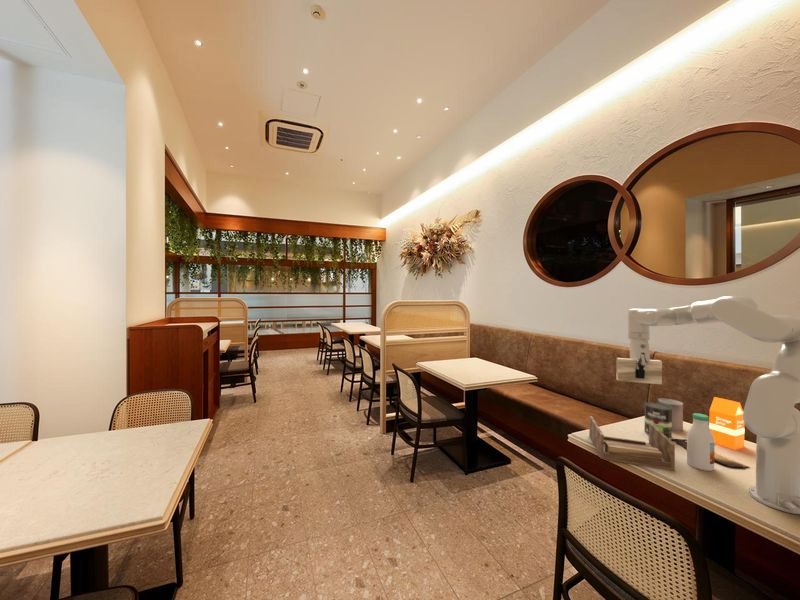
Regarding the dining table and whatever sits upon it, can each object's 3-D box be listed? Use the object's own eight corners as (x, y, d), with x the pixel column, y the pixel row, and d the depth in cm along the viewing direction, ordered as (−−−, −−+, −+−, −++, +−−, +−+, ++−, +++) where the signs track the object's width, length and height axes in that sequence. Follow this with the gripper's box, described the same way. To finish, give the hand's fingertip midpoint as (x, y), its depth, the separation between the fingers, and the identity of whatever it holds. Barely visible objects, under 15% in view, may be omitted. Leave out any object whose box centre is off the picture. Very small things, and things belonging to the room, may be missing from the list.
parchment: (752, 468, 120) (752, 466, 120) (730, 469, 119) (730, 467, 119) (684, 440, 145) (684, 438, 145) (666, 441, 143) (666, 439, 143)
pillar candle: (660, 423, 164) (660, 394, 164) (685, 429, 157) (685, 399, 157) (655, 427, 158) (655, 398, 158) (680, 434, 151) (680, 403, 151)
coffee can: (670, 442, 142) (670, 411, 142) (642, 434, 150) (642, 405, 150) (673, 435, 149) (674, 406, 149) (646, 428, 157) (646, 400, 157)
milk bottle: (704, 472, 117) (704, 419, 117) (681, 462, 125) (682, 412, 125) (719, 470, 119) (720, 417, 119) (696, 460, 127) (697, 410, 126)
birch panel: (661, 384, 136) (661, 361, 136) (618, 380, 142) (618, 358, 142) (658, 382, 139) (659, 360, 139) (616, 379, 145) (616, 357, 145)
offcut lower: (661, 463, 122) (661, 458, 122) (607, 455, 128) (607, 450, 128) (656, 457, 126) (656, 452, 126) (604, 450, 133) (604, 445, 133)
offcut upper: (662, 458, 122) (662, 453, 122) (608, 451, 128) (608, 446, 128) (656, 453, 126) (656, 448, 126) (605, 446, 132) (605, 441, 132)
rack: (674, 471, 118) (674, 444, 118) (600, 459, 127) (600, 434, 127) (651, 445, 139) (651, 423, 139) (589, 436, 148) (589, 415, 147)
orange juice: (718, 438, 146) (718, 395, 146) (744, 447, 138) (745, 401, 138) (708, 441, 143) (709, 397, 143) (735, 450, 135) (735, 403, 135)
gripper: (656, 338, 131) (656, 382, 131) (642, 334, 147) (641, 373, 147) (635, 337, 134) (634, 380, 134) (623, 333, 149) (622, 372, 149)
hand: (638, 376), depth 140 cm, fingers closed on birch panel, 3 cm apart
